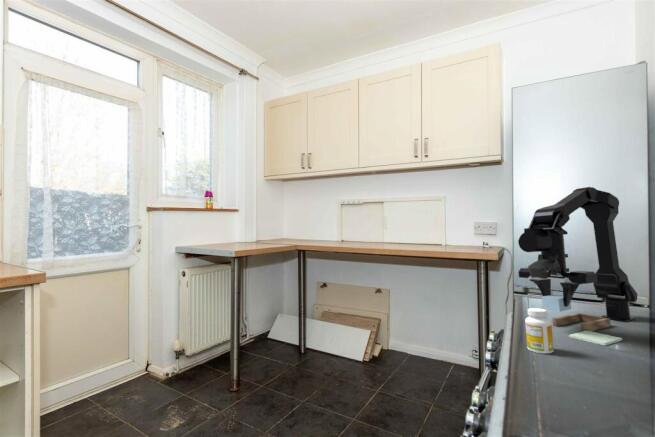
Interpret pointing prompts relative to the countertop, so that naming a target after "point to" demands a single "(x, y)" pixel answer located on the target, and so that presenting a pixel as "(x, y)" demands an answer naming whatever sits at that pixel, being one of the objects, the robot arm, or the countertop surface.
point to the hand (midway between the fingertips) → (557, 305)
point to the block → (554, 303)
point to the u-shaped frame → (590, 320)
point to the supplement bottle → (539, 331)
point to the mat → (595, 337)
